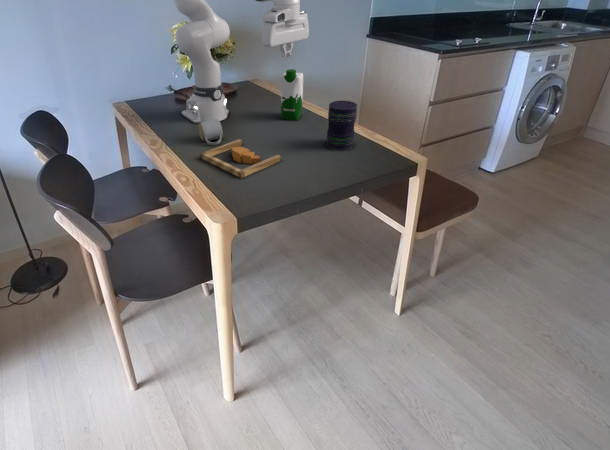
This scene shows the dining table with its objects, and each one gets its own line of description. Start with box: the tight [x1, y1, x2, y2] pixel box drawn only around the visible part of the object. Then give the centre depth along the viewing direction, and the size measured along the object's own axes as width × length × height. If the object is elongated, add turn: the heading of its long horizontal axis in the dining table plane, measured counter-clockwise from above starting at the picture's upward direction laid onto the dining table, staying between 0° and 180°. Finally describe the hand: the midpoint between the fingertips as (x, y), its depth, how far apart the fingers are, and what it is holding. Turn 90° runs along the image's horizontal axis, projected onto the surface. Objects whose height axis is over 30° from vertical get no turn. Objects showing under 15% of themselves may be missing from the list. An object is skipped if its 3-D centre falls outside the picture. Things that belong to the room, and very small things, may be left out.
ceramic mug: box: [197, 119, 224, 146], centre depth 158 cm, size 11×8×8 cm
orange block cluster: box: [230, 145, 261, 165], centre depth 145 cm, size 14×6×4 cm, turn 42°
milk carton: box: [280, 69, 304, 121], centre depth 174 cm, size 9×9×20 cm
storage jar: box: [326, 100, 358, 151], centre depth 149 cm, size 10×10×15 cm
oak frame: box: [200, 138, 282, 179], centre depth 145 cm, size 22×18×2 cm
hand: (286, 56), depth 147 cm, fingers closed
